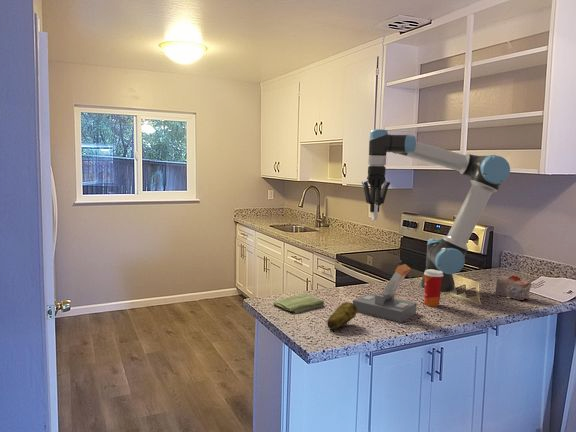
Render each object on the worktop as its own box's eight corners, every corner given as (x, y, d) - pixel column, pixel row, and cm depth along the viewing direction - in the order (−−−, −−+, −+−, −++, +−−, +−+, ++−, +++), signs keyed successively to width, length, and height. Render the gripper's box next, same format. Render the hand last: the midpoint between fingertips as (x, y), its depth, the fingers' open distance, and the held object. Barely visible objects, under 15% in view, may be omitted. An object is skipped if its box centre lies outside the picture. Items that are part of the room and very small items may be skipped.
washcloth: (271, 306, 181) (271, 298, 181) (304, 299, 192) (305, 291, 192) (292, 315, 171) (292, 307, 171) (326, 307, 182) (327, 299, 182)
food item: (532, 300, 199) (534, 278, 198) (524, 303, 194) (526, 280, 193) (501, 292, 210) (503, 271, 209) (492, 295, 205) (494, 273, 204)
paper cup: (427, 300, 194) (429, 268, 192) (444, 305, 188) (447, 271, 187) (418, 304, 188) (420, 270, 187) (435, 308, 183) (437, 274, 181)
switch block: (352, 310, 178) (353, 291, 177) (369, 302, 189) (370, 284, 188) (400, 322, 166) (401, 302, 165) (415, 313, 177) (417, 294, 176)
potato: (318, 325, 161) (319, 302, 160) (349, 320, 167) (350, 298, 166) (331, 333, 153) (332, 310, 152) (362, 327, 159) (364, 305, 158)
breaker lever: (376, 299, 175) (397, 266, 169) (384, 295, 180) (404, 263, 174) (382, 304, 174) (404, 271, 168) (390, 300, 179) (411, 268, 173)
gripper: (386, 165, 204) (383, 218, 207) (359, 165, 200) (356, 218, 203) (394, 166, 197) (391, 220, 200) (367, 165, 193) (364, 220, 196)
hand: (374, 219), depth 201 cm, fingers closed
